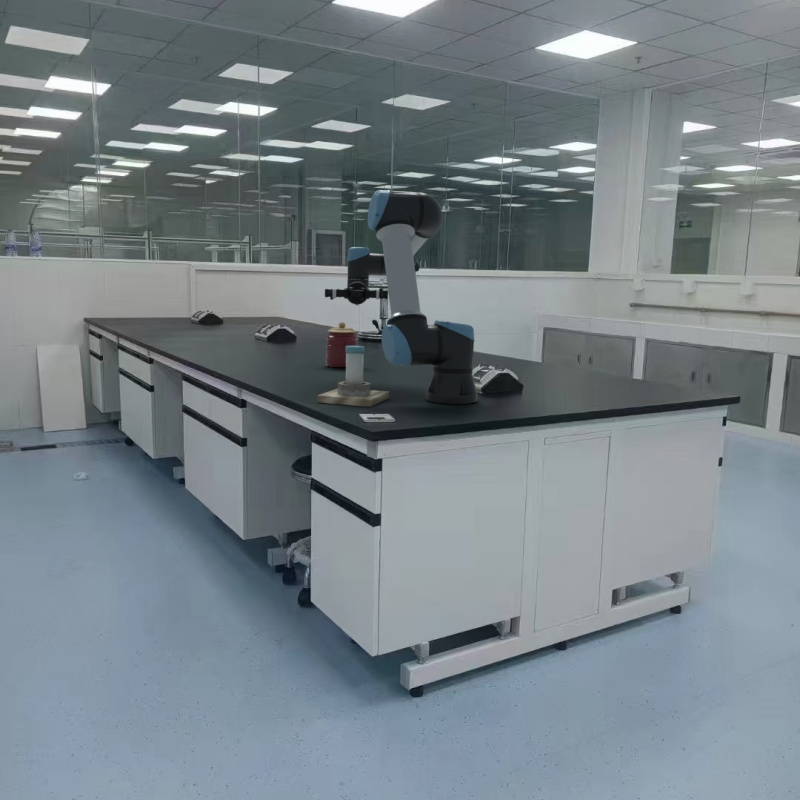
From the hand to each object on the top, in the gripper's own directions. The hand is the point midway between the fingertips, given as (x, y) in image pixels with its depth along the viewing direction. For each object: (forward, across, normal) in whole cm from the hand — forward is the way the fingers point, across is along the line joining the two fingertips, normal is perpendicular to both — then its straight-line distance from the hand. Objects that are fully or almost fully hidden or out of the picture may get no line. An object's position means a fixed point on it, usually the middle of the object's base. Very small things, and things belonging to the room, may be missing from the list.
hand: (355, 294), depth 220 cm
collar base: (+19, 0, -30) cm, 36 cm away
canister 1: (-61, +7, -30) cm, 68 cm away
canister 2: (+19, 0, -28) cm, 34 cm away
